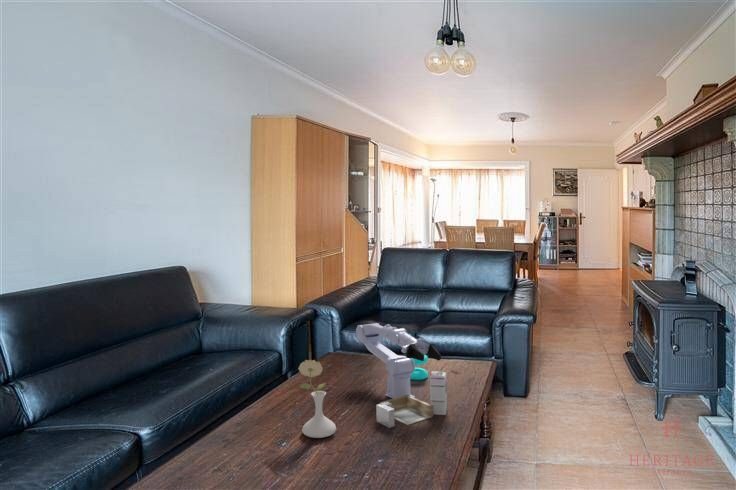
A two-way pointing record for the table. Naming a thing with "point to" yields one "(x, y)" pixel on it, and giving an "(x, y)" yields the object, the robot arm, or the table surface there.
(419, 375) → the donuts
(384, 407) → the bracket
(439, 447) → the table surface
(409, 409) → the arena
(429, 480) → the table surface
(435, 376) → the syrup box
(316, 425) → the flower in vase
